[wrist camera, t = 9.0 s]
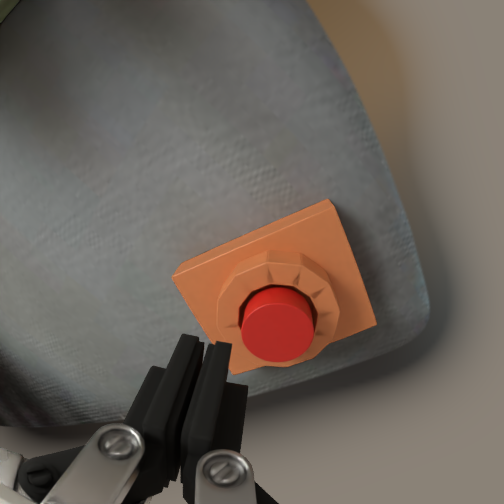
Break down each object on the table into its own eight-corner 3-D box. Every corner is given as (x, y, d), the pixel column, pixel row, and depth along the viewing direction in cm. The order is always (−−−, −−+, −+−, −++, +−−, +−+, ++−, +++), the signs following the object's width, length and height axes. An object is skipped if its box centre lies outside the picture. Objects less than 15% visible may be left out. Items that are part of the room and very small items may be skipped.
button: (296, 276, 16) (298, 292, 15) (320, 330, 17) (324, 349, 16) (232, 301, 17) (228, 318, 15) (261, 351, 18) (259, 370, 16)
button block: (328, 198, 18) (340, 214, 15) (369, 307, 21) (385, 341, 17) (180, 263, 20) (160, 291, 17) (236, 356, 23) (229, 394, 19)
